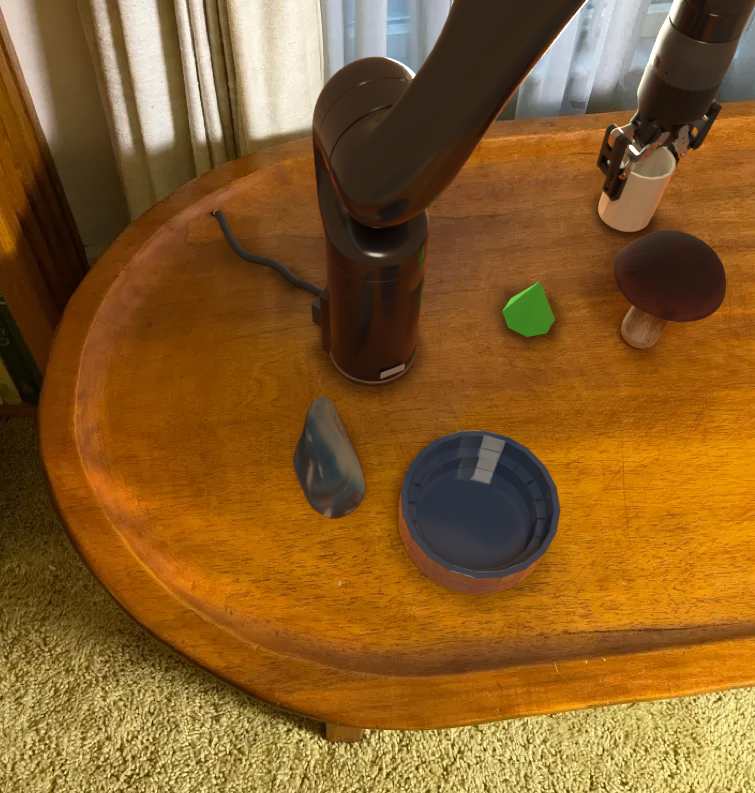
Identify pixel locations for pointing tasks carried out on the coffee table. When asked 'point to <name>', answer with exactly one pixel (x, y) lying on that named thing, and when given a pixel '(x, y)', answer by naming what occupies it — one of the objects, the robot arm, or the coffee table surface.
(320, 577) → the coffee table surface
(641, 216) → the cup
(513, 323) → the gemstone
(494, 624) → the coffee table surface
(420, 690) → the coffee table surface
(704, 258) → the decorative mushroom
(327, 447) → the seashell
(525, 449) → the bowl
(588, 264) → the coffee table surface
